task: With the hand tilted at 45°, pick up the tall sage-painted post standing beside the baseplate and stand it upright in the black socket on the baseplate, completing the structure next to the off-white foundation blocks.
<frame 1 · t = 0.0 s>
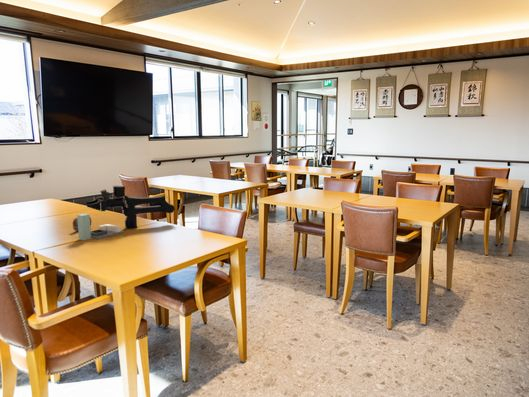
hand: (86, 204, 239), 17 cm above the table, tool horizontal, fingers open, 9 cm apart
tin: (82, 230, 246), on the table
post: (84, 238, 225), on the table
baseplate: (103, 234, 236), on the table
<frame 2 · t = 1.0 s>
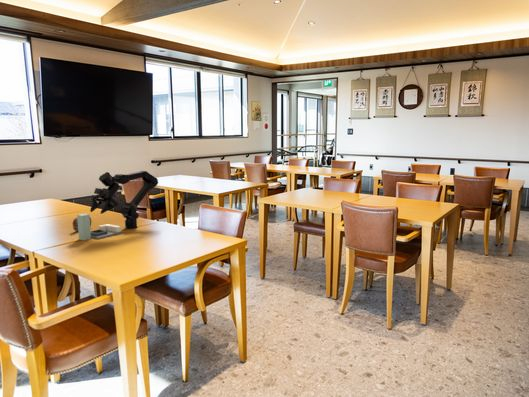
hand: (95, 212, 230), 14 cm above the table, tool tilted 45°, fingers open, 9 cm apart
nothing on the table moved.
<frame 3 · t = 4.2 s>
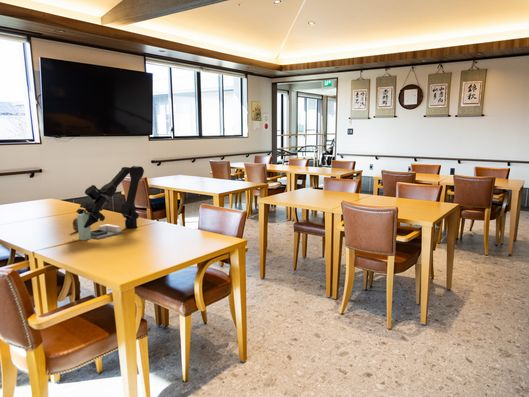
hand: (81, 227, 223), 7 cm above the table, tool tilted 45°, fingers closed on post, 4 cm apart
post: (84, 238, 225), on the table, touching gripper
everything else where it was.
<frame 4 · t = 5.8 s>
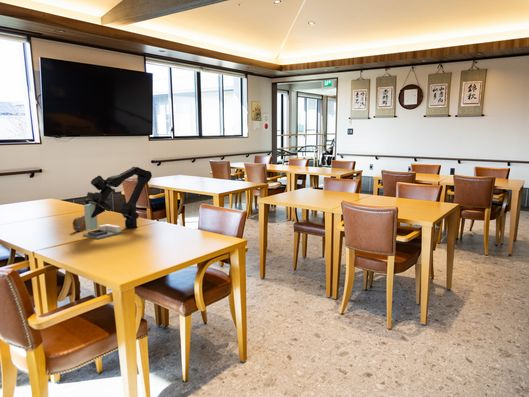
hand: (88, 217, 226), 12 cm above the table, tool tilted 45°, fingers closed on post, 4 cm apart
post: (91, 228, 228), point 5 cm above the table, touching gripper
everything else where it was.
when the fingers open (10 cm above the table, at t = 7.5 s): post drops 2 cm, resting on baseplate.
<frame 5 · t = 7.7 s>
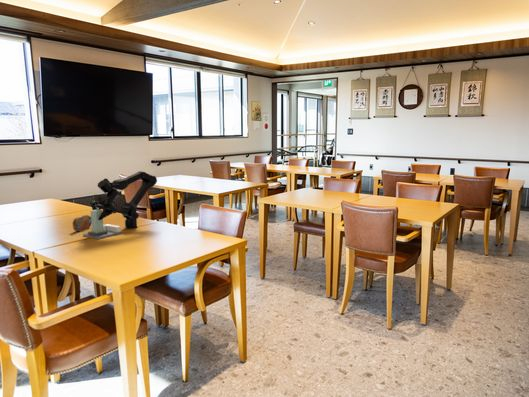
hand: (94, 219, 230), 10 cm above the table, tool tilted 45°, fingers open, 7 cm apart
post: (97, 233, 232), point 1 cm above the table, touching baseplate
everything else where it was.
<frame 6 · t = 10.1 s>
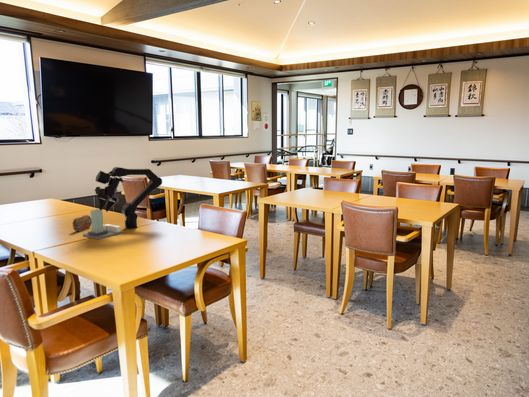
hand: (103, 211, 241), 12 cm above the table, tool tilted 25°, fingers open, 9 cm apart
nothing on the table moved.
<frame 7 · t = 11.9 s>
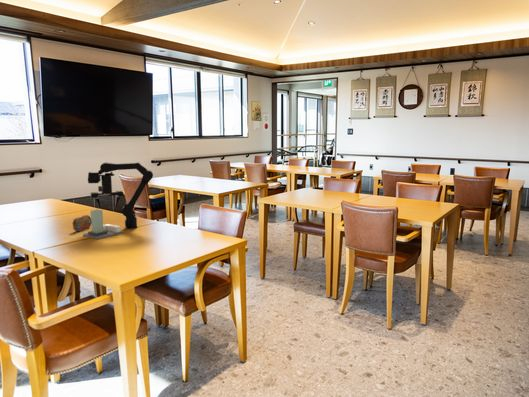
hand: (107, 208, 247), 13 cm above the table, tool pointing down, fingers open, 9 cm apart
nothing on the table moved.
at the end: post 0.0 cm from the target spot, point 1.0 cm above the table; post tilted 0°; the gripper is holding nothing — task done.
